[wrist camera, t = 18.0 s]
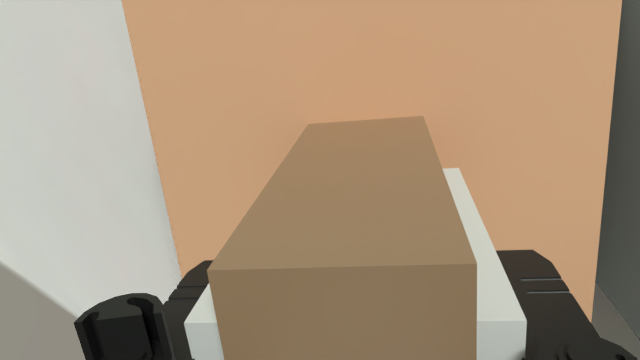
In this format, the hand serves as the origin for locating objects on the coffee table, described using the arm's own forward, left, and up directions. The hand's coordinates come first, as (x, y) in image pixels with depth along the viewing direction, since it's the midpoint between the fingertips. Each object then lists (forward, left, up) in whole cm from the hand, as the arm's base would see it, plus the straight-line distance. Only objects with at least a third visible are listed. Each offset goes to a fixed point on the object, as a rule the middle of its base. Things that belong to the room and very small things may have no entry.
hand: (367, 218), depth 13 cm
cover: (0, 0, -4) cm, 4 cm away
